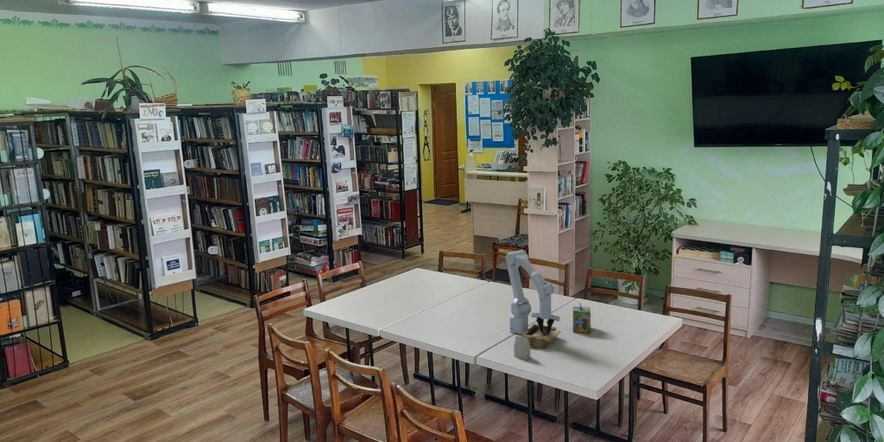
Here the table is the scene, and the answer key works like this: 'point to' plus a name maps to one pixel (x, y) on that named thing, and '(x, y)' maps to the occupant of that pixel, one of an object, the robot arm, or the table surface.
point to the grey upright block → (522, 347)
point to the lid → (546, 334)
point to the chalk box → (581, 319)
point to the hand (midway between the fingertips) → (545, 332)
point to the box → (534, 340)
